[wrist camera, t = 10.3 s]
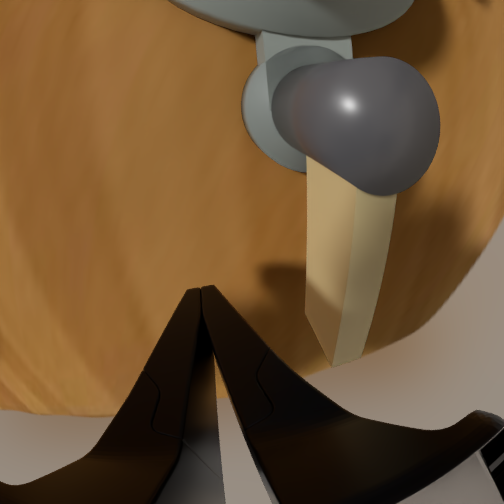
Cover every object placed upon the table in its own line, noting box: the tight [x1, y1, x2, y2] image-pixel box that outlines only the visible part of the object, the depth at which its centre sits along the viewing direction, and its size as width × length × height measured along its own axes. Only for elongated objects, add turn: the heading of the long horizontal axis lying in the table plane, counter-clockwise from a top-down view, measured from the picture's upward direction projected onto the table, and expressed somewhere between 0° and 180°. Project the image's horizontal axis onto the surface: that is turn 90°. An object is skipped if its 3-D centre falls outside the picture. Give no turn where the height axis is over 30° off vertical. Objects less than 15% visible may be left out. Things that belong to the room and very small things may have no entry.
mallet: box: [271, 56, 440, 368], centre depth 8 cm, size 10×3×4 cm, turn 6°
